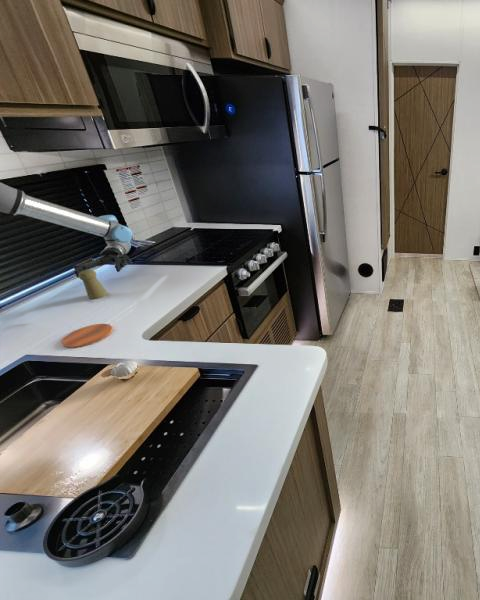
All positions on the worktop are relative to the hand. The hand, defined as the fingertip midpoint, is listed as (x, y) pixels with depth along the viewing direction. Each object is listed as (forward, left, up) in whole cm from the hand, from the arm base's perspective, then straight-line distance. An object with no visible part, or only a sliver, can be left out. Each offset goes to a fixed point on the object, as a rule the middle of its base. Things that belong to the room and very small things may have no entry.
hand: (97, 271), depth 137 cm
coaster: (+23, -36, -7) cm, 43 cm away
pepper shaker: (+3, -8, -7) cm, 11 cm away
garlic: (+52, -55, -7) cm, 76 cm away
